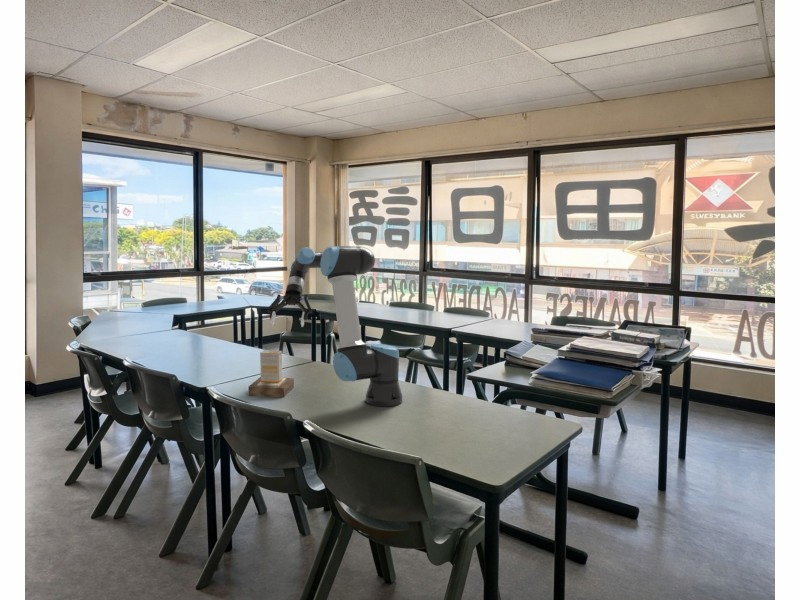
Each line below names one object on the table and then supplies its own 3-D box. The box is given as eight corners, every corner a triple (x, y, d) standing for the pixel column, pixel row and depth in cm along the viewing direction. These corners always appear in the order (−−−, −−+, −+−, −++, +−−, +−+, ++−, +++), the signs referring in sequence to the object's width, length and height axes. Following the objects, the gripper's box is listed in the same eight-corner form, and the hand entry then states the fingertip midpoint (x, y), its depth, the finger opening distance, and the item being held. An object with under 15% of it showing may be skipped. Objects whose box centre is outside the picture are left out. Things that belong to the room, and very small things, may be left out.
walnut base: (293, 386, 236) (293, 377, 235) (284, 397, 221) (283, 386, 220) (260, 385, 237) (260, 376, 236) (248, 395, 222) (248, 385, 222)
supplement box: (282, 380, 231) (282, 350, 229) (279, 383, 226) (278, 352, 224) (264, 379, 231) (263, 349, 230) (260, 382, 226) (259, 352, 225)
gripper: (322, 293, 252) (315, 330, 239) (270, 293, 254) (261, 329, 240) (319, 283, 246) (313, 320, 233) (266, 282, 248) (256, 319, 235)
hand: (286, 325), depth 237 cm, fingers open, 13 cm apart
